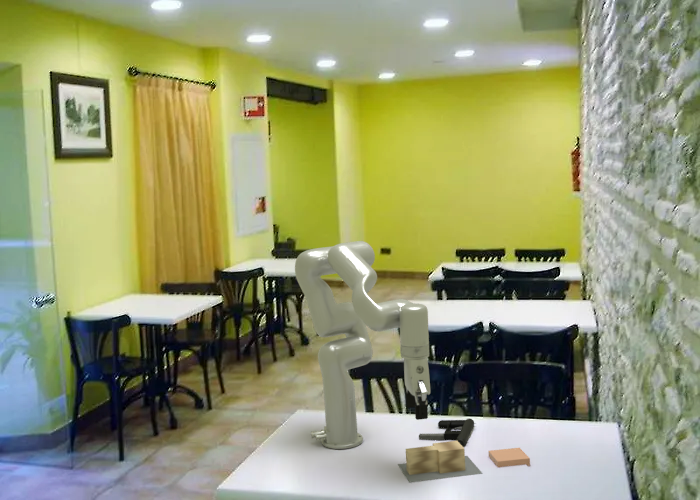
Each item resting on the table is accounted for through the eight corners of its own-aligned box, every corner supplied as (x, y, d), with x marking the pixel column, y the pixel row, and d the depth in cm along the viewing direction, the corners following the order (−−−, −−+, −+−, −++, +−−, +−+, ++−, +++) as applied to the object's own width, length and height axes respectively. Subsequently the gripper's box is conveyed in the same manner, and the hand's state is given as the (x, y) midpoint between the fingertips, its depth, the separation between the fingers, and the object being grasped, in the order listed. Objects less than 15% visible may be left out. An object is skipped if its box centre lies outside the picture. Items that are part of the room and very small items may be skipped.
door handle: (414, 439, 219) (468, 439, 214) (427, 417, 238) (477, 417, 233) (415, 450, 220) (469, 450, 215) (429, 427, 239) (478, 427, 234)
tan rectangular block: (497, 461, 199) (529, 458, 200) (488, 450, 207) (519, 447, 208) (497, 470, 199) (530, 467, 200) (488, 459, 207) (519, 456, 208)
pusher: (410, 477, 196) (409, 455, 196) (405, 468, 202) (404, 446, 202) (465, 470, 198) (464, 448, 198) (458, 461, 205) (457, 440, 204)
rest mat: (409, 484, 193) (408, 482, 193) (397, 466, 206) (397, 464, 205) (482, 475, 196) (482, 473, 196) (467, 457, 209) (467, 455, 209)
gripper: (437, 357, 189) (439, 422, 191) (420, 341, 206) (422, 401, 208) (408, 360, 188) (411, 425, 190) (393, 344, 205) (396, 404, 207)
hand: (417, 412), depth 199 cm, fingers open, 9 cm apart
